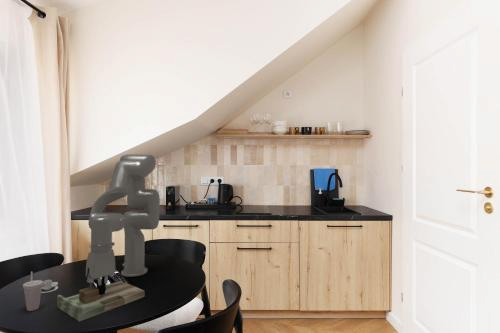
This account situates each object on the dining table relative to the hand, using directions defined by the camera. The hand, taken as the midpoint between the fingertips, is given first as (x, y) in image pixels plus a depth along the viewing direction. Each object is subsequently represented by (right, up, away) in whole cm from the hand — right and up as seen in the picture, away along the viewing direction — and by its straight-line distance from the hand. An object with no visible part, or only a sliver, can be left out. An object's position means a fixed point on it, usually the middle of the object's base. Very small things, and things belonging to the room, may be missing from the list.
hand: (101, 293), depth 122 cm
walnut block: (-3, -1, -4) cm, 5 cm away
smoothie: (-23, -4, -6) cm, 24 cm away
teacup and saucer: (-27, -4, +14) cm, 30 cm away
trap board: (0, -3, +1) cm, 3 cm away
